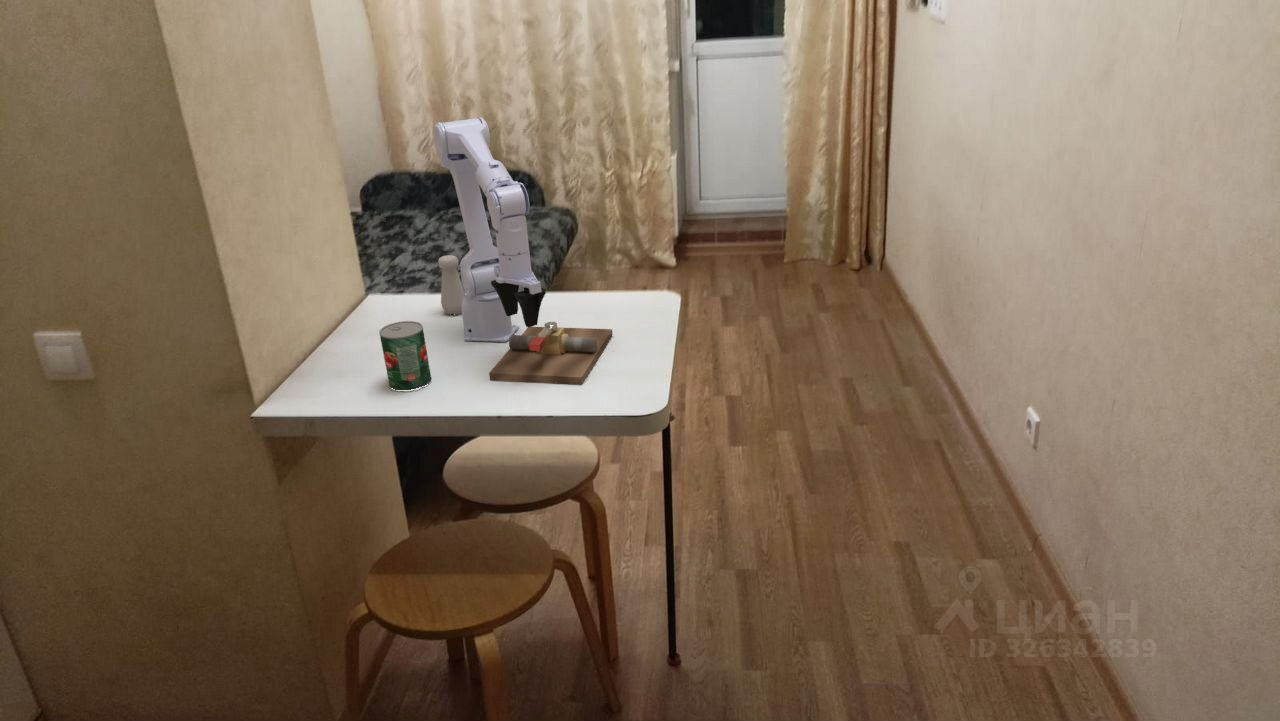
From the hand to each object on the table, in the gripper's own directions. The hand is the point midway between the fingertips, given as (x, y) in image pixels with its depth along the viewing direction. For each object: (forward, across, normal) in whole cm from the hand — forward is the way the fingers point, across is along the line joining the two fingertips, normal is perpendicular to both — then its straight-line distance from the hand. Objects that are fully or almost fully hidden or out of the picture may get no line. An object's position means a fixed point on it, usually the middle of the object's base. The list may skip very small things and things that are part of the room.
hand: (521, 320), depth 174 cm
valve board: (+9, 0, +6) cm, 11 cm away
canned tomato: (+10, -8, -20) cm, 24 cm away
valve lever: (+4, +3, +3) cm, 5 cm away
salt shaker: (+10, -37, +2) cm, 38 cm away
